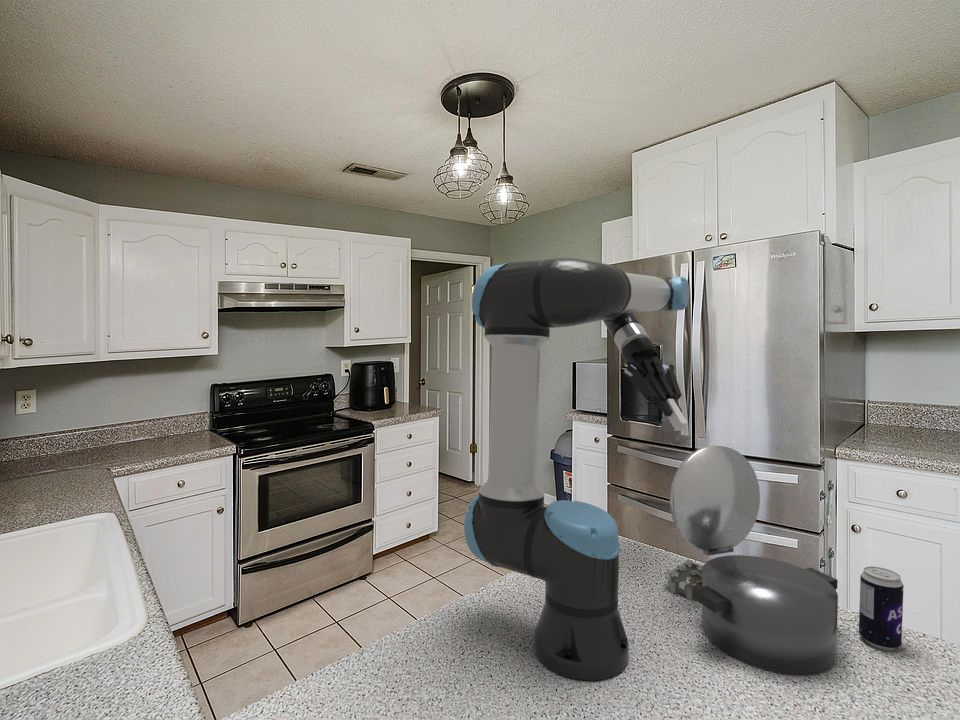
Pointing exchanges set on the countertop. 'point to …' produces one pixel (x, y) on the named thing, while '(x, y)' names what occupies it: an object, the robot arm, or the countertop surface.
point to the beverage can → (881, 608)
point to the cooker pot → (770, 613)
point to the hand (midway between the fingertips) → (681, 426)
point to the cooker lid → (715, 499)
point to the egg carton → (680, 575)
